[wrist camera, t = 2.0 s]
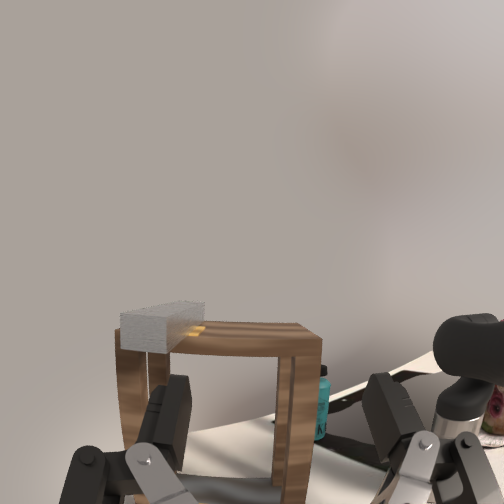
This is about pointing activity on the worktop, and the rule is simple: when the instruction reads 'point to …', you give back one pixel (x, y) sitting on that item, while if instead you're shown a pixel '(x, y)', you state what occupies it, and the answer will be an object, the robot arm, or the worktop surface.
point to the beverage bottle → (322, 404)
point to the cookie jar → (493, 420)
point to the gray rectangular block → (159, 326)
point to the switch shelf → (286, 415)
